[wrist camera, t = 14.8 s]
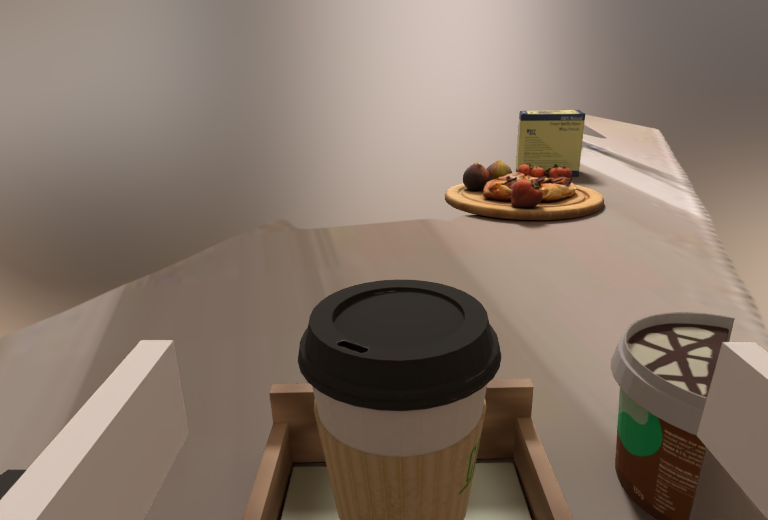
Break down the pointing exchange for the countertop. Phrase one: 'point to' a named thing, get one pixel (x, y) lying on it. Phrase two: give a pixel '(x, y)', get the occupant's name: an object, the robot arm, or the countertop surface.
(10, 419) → the countertop surface
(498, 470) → the wooden frame with crossbars
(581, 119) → the protein box
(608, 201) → the countertop surface
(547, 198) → the wooden plate with food
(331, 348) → the coffee cup
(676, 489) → the food container
